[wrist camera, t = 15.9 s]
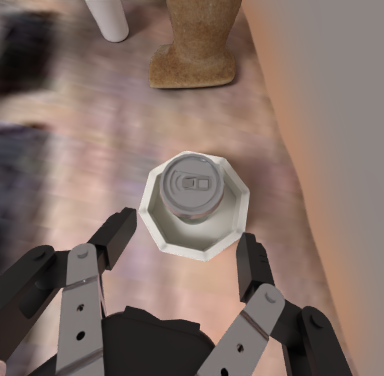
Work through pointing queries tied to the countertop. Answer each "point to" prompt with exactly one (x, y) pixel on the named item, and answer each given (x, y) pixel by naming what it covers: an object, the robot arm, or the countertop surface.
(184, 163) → the beer can
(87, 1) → the drinking glass
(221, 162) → the cream bowl
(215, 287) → the countertop surface
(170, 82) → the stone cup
